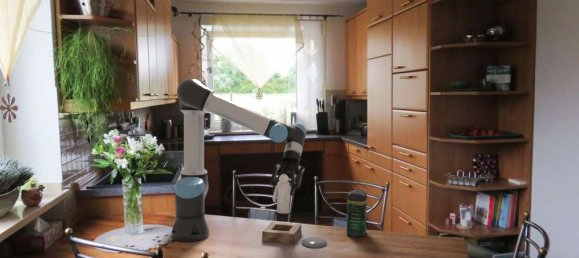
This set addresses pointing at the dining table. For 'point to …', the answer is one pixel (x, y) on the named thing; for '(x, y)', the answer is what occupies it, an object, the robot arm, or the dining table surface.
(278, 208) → the pepper mill
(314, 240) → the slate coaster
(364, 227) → the coffee jar
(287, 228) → the walnut holder
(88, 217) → the dining table surface
